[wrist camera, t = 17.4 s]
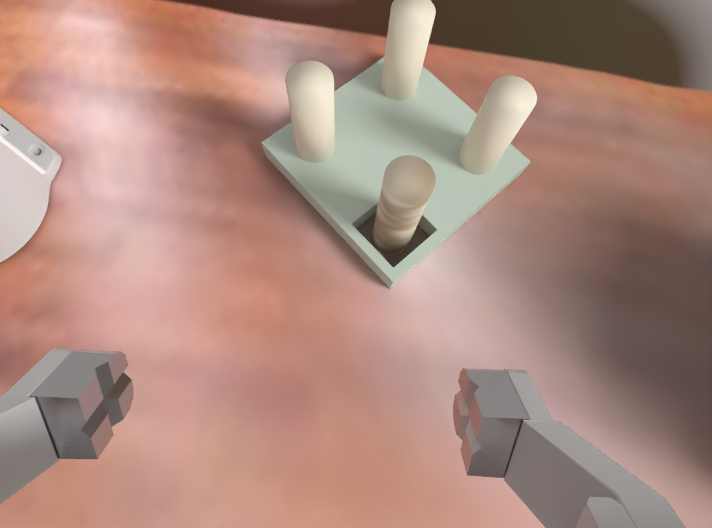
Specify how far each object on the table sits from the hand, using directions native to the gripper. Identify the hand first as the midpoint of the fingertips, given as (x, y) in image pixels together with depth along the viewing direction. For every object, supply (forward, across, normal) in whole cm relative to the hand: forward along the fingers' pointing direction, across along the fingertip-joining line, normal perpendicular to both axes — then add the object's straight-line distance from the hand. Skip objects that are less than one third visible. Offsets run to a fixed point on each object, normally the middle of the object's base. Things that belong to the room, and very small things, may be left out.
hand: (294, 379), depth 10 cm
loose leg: (+32, -6, +10) cm, 34 cm away
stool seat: (+38, -6, +4) cm, 39 cm away
